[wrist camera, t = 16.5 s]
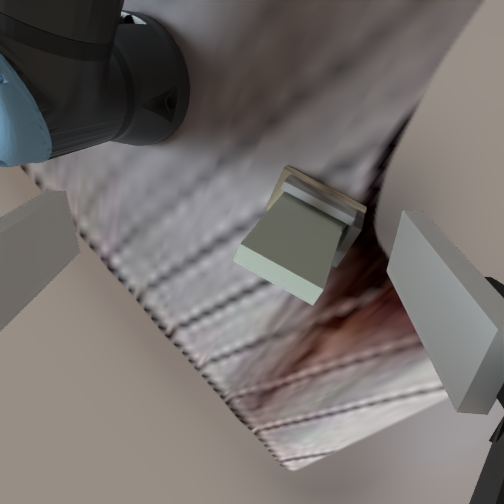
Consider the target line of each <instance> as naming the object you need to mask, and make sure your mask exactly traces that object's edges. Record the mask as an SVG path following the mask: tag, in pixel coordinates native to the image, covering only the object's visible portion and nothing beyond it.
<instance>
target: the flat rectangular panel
mask: <svg viewBox="0 0 504 504" xmlns="http://www.w3.org/2000/svg"><path fill="white" fill-rule="evenodd" d="M343 225H344V222H342V221H341V220H339V219H337V218H335V217H333V216H331V215H329V214H327V213H325V212H323V211H322V210H320V209H318V208H316V207H314V206H312V205H310V204H308V203H306V202H305V201H303V200H301V199H299V198H297V197H295V196H293V195H291V194H289V193H288V192H286V191H284V192H283V194H282V195H281V196H280V197H279V198H278V200H277V201H276V202H275V203H274V204H273V206H272V207H271V208H270V209H269V210H268V212H267V213H266V214H265V215H264V216H263V217H262V219H261V220H260V221H259V222H258V223H257V225H256V226H255V227H254V228H253V229H252V231H251V232H250V233H249V234H248V235H247V236H246V238H245V239H244V240H243V241H242V242H241V244H240V246H239V248H238V250H237V253H236V255H235V257H234V259H233V261H234V262H235V263H237V264H239V265H241V266H243V267H244V268H246V269H248V270H250V271H252V272H253V273H255V274H257V275H259V276H261V277H262V278H264V279H266V280H268V281H270V282H271V283H273V284H275V285H277V286H279V287H280V288H282V289H284V290H286V291H288V292H289V293H291V294H293V295H295V296H297V297H298V298H300V299H302V300H304V301H306V302H307V303H309V304H311V305H314V303H315V302H316V300H317V299H318V297H319V296H320V294H321V293H322V291H323V290H324V287H325V283H326V280H327V277H328V274H329V270H330V267H331V264H332V261H333V257H334V254H335V251H336V248H337V244H338V241H339V238H340V235H341V231H342V228H343Z"/></svg>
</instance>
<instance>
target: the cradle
mask: <svg viewBox="0 0 504 504" xmlns="http://www.w3.org/2000/svg"><path fill="white" fill-rule="evenodd" d="M284 191H286V192H288V193H289V194H291V195H293V196H295V197H297V198H299V199H301V200H303V201H305V202H306V203H308V204H310V205H312V206H314V207H316V208H318V209H320V210H322V211H323V212H325V213H327V214H329V215H331V216H333V217H335V218H337V219H339V220H341V221H342V222H344V225H343V228H342V231H341V235H340V238H339V241H338V244H337V248H336V251H335V254H334V257H333V261H332V264H331V265H332V266H334V267H337V266H338V264H339V263H340V261H341V260H342V258H343V257H344V256H345V254H346V253H347V251H348V250H349V248H350V247H351V245H352V244H353V242H354V241H355V239H356V238H357V236H358V235H359V233H360V232H361V230H362V226H363V221H364V215H365V212H366V209H367V207H366V206H364V205H362V204H360V203H358V202H356V201H354V200H352V199H350V198H349V197H347V196H345V195H343V194H341V193H339V192H337V191H335V190H333V189H331V188H329V187H327V186H326V185H324V184H322V183H320V182H318V181H316V180H314V179H312V178H310V177H308V176H306V175H304V174H302V173H301V172H299V171H297V170H295V169H293V168H291V167H289V166H286V167H285V168H284V169H283V172H282V174H281V176H280V178H279V180H278V182H277V185H276V187H275V189H274V191H273V193H272V195H271V198H270V200H269V202H268V204H267V206H266V210H269V209H270V208H271V207H272V206H273V204H274V203H275V202H276V201H277V200H278V198H279V197H280V196H281V195H282V194H283V192H284Z"/></svg>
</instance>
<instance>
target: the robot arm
mask: <svg viewBox="0 0 504 504" xmlns="http://www.w3.org/2000/svg"><path fill="white" fill-rule="evenodd" d="M123 4H124V0H0V167H13V166H18V165H23V164H28V163H40V162H44V161H47V160H49V159H52V158H56V157H59V156H62V155H65V154H69V153H72V152H75V151H78V150H82V149H85V148H88V147H91V146H94V145H98V144H101V143H104V142H107V141H113V142H118V143H124V144H129V145H136V146H143V145H150V144H153V143H156V142H159V141H162V140H164V139H166V138H168V137H169V136H171V135H172V134H173V133H174V132H175V131H176V130H177V129H178V127H179V126H180V124H181V123H182V121H183V119H184V117H185V114H186V111H187V107H188V102H189V78H188V72H187V68H186V65H185V61H184V59H183V56H182V54H181V52H180V50H179V48H178V46H177V44H176V42H175V41H174V39H173V38H172V37H171V35H170V34H169V33H168V32H167V31H166V30H165V29H164V28H163V27H162V26H161V25H160V24H159V23H158V22H156V21H155V20H153V19H152V18H150V17H148V16H146V15H143V14H140V13H137V12H131V11H125V10H122V8H123ZM79 253H80V248H79V244H78V240H77V236H76V231H75V227H74V223H73V219H72V215H71V211H70V207H69V202H68V198H67V194H66V191H51V190H47V191H45V192H43V193H42V194H40V195H38V196H36V197H35V198H33V199H32V200H30V201H28V202H26V203H24V204H23V205H21V206H19V207H18V208H16V209H14V210H13V211H11V212H9V213H7V214H6V215H4V216H2V217H0V331H1V330H2V329H3V328H4V327H5V326H6V325H7V324H8V323H9V322H10V321H11V320H12V319H13V318H14V317H15V316H16V315H17V314H18V313H19V312H20V311H21V310H22V309H23V308H24V307H25V306H26V305H27V304H28V303H29V302H31V300H32V299H34V297H36V296H37V295H38V293H40V292H41V291H42V290H43V289H44V288H45V287H46V285H48V284H49V283H50V282H51V281H52V280H53V279H54V277H56V276H57V274H59V273H60V272H61V271H62V270H63V269H64V268H65V267H66V266H67V265H68V264H69V263H70V262H71V261H72V260H73V259H74V258H75V257H76V256H77V255H78V254H79ZM387 273H388V275H389V277H390V279H391V281H392V283H393V285H394V287H395V289H396V291H397V293H398V295H399V297H400V299H401V301H402V303H403V305H404V307H405V309H406V311H407V313H408V315H409V317H410V319H411V321H412V323H413V325H414V327H415V329H416V331H417V333H418V335H419V337H420V339H421V341H422V343H423V345H424V347H425V349H426V351H427V353H428V356H429V358H430V360H431V362H432V364H433V366H434V368H435V370H436V372H437V374H438V376H439V378H440V380H441V382H442V384H443V386H444V388H445V390H446V392H447V394H448V396H449V398H450V400H451V402H452V404H453V406H454V408H455V409H456V412H462V413H474V414H486V415H487V414H488V413H489V411H490V410H491V408H492V406H493V404H494V403H495V401H496V399H498V400H499V402H500V403H501V405H502V407H503V408H504V285H503V284H502V283H500V282H498V281H497V280H495V279H493V278H492V277H484V276H483V275H482V274H481V273H480V272H479V271H478V270H477V269H476V268H475V267H474V266H473V265H472V264H471V262H470V261H469V260H468V259H467V258H466V257H465V256H464V255H463V254H462V253H461V251H460V250H459V249H458V248H457V247H456V246H455V245H454V244H453V243H452V242H451V241H450V240H449V238H448V237H447V236H446V235H445V234H444V233H443V232H442V231H441V230H440V229H439V228H438V227H437V226H436V224H435V223H434V222H433V221H432V220H431V219H430V218H429V217H428V216H427V215H426V214H425V212H424V211H412V210H403V211H402V215H401V219H400V223H399V226H398V230H397V234H396V238H395V241H394V245H393V249H392V253H391V257H390V260H389V264H388V268H387ZM489 441H490V442H492V445H491V448H490V451H489V453H488V456H487V459H486V461H485V464H484V466H483V469H482V472H481V474H480V477H479V480H478V482H477V485H476V487H475V490H474V493H473V495H472V498H471V501H470V503H469V504H504V417H503V418H502V420H501V422H500V423H499V425H498V426H497V428H496V430H495V432H494V433H493V435H492V436H491V438H490V440H489Z"/></svg>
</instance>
